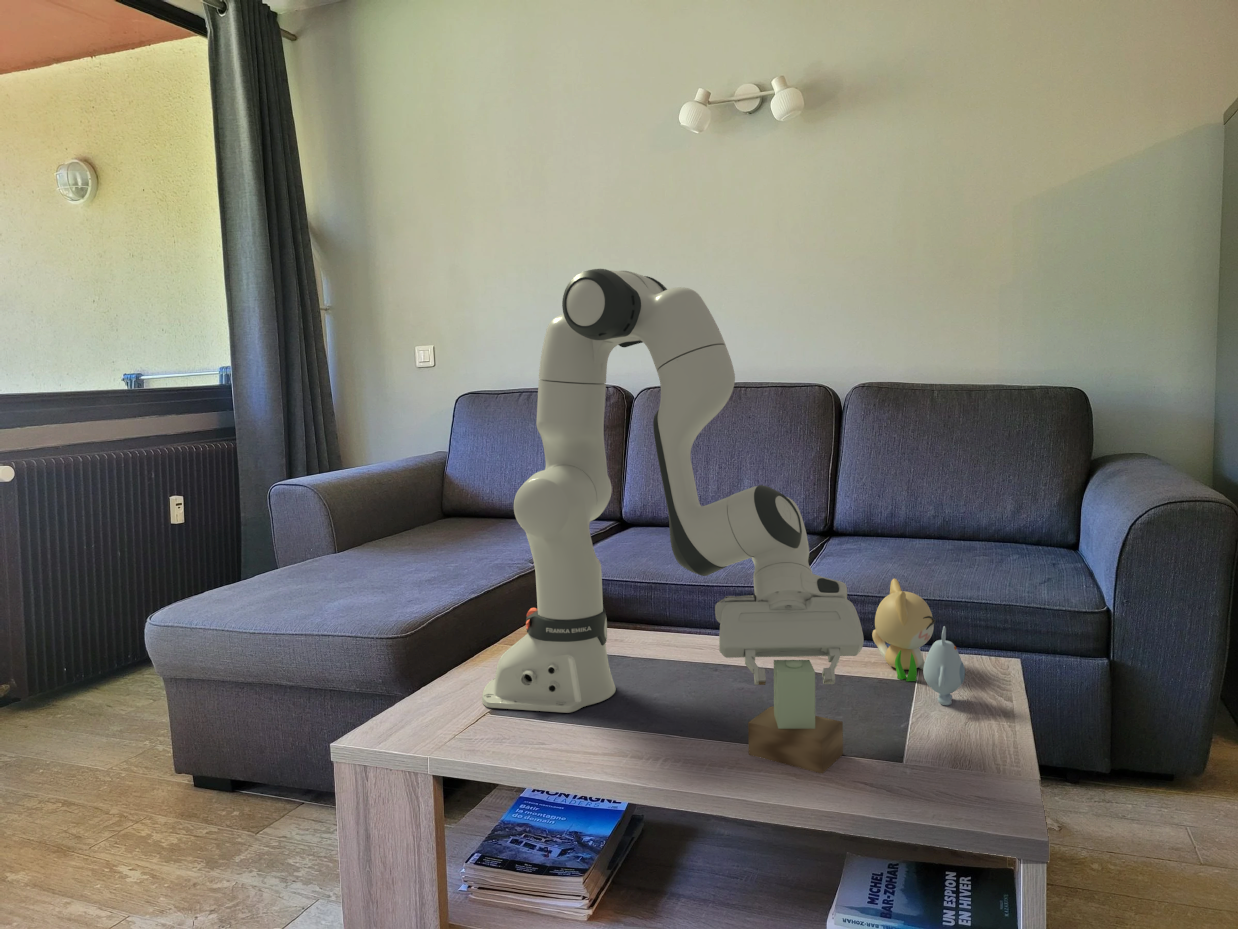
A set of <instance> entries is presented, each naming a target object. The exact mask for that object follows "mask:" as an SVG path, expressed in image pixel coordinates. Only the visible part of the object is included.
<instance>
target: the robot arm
mask: <svg viewBox="0 0 1238 929" xmlns="http://www.w3.org/2000/svg"><path fill="white" fill-rule="evenodd" d="M561 308H562V314H559V315H557V316H555V317H553V318H552V319H551V320H550V322H549V323H548V325H547V328H546V332H545V334H544V335H545V336H544V339H543V343H542V344H543V345H542V350H541V354H540V355H541V356H540V359H539V360H540V361H539V370H538V371H539V372H538V373H539V374H538V384H537V385H538V387H537V389H538V390H537V404H536V406H537V407H536V422H535V423H536V429H537V431H538V434H539V435H540V438H541V441H542V446H543V451H544V452H543V453H544V458H545V468H544V469H542V470H539V471H537V472H535V473H533V474H532V475H531V476H529V478H528V479H527V480H525V481H524V482H523V484H522V485H521V486H520V487H519V488H518V490H517V491H516V493H515V496H514V500H513V512H514V513H513V514H514V517H515V519H516V521H517V523H518V525H519V526H520V528H521V529H522V530H523V531H524V532H525V535H526V539H527V541H528V542H527V543H528V545H529V548H530V553H531V556H532V560H533V564H534V565H533V566H534V570H535V573H534V574H535V585H536V586H535V587H536V602H537V603H536V605H537V608H536V607H531V608H530V609H529V610H528V611H527V613H526V618H525V628H526V634H525V635H524V636H523V637H521V638H520V639H518V641H517V642H516V643H514V644H513V645H512V646H510V647H509V648H508V649H507V650H506V651H505V652H504V653H503V654H502V655H501V657H500V658H499V660H498V662H497V665H496V670H495V676H494V677H493V678H492V679H491V680H490V681H489V682H487V684H486V685H485V686H484V687H483V688H484V689H483V691H482V696H481V697H482V698H481V701H482V703H483V705H484V706H485V707H487V708H490V709H491V708H492V709H504V710H505V709H506V710H507V709H508V710H521V711H536V712H539V711H540V712H550V713H567V714H568V713H573V712H577V711H578V710H581V708H583V707H584V708H585V707H586V706H587V707H588V706H591V705H595V704H597V703H601V702H603V701H605V700H607V699H609V698H611V697H612V696H613V695H614V694H615V693H616V690H617V689H616V685H615V682H614V678H613V676H612V672H611V669H610V663H609V659H608V658H609V657H608V652H607V644H606V643H607V639H608V620H607V615H606V614H607V612H606V609H605V608H604V604H603V603H604V602H603V600H604V599H603V598H604V597H603V578H602V575H603V574H602V564H601V561H600V560H599V558H598V557H597V554H596V552H595V548H594V544H593V540H592V536H591V531H590V530H591V529H590V523H591V522H593V521H594V520H596V519H597V518H599V517H600V516H601V514H602V513H604V512H605V510H606V508H607V506H608V504H609V503H610V501H611V498H612V497H611V496H612V491H613V488H612V483H611V479H610V476H609V475H608V466H607V465H608V464H607V457H606V446H605V436H604V435H605V434H604V430H605V429H604V424H605V409H606V408H605V405H606V391H607V390H606V388H607V384H606V383H607V373H608V372H607V370H608V368H607V367H608V360H609V356H610V354H611V352H612V351H613V349H615V348H616V347H617V346H619V347H621V348H628V347H631V346H635V345H638V344H642V343H643V344H644V345H645V346H646V348H647V349H648V351H649V354H650V356H651V358H652V361H653V364H654V367H655V370H656V372H657V376H658V378H659V379H658V380H659V384H660V403H659V407H658V409H657V411H656V412H655V414H654V416H653V419H652V420H653V435H654V443H655V448H656V449H655V450H656V455H657V460H658V466H659V469H660V471H659V472H660V476H661V481H662V482H661V483H662V486H663V487H662V488H663V492H664V496H665V502H666V508H667V513H668V522H669V525H668V526H669V527H668V528H669V538H670V539H669V540H670V546H671V550H672V553H673V556H674V559H675V560H676V562H677V563H678V564H679V565H680V566H681V567H682V568H684V569H685V570H688V571H689V572H691V573H694V574H696V575H698V576H702V577H706V576H707V577H708V576H710V575H712V574H715V573H716V572H718V571H721V570H723V569H725V568H727V566H731V565H735V564H736V563H740V562H744V561H745V560H748V559H751V560H752V562H753V565H754V571H753V577H752V578H753V590H754V595H741V596H739V595H738V596H734V595H727V596H724V598H722V599H720V600H718V601H717V603H716V604H715V606H714V614H715V619H716V621H717V623H719V624H720V625H719V634H718V635H719V638H718V643H719V644H718V645H719V646H718V647H719V649H718V650H719V653H720V654H721V655H722V657H724V658H729V659H731V658H732V659H733V658H737V659H738V658H744V665H745V666H746V667H747V668H748V670H749V671H750V672H751V674H752V675H753V679H754V682H753V683H754V686H765V685H766V684H767V677H766V668H759V666H758V664H757V663H756V658H793V657H794V658H796V657H797V658H798V657H799V658H801V657H802V658H803V657H805V658H806V657H809V658H810V657H811V658H812V657H827V661H828V663H830V665H829V667H823V669H822V671H821V675H822V684H823V685H835V683H836V673H835V670H836V668H837V666H838V664H839V662H840V658H841V657H856V656H858V655H859V653H860V652H861V651H862V649H863V646H864V642H865V640H864V639H865V638H864V633H863V628H862V624H861V621H860V618H859V614H858V611H857V610H856V606H854V604H853V602H852V601H850V600H849V599H848V598H847V597H848V588H847V585H846V584H847V583H845V582H843V581H840V580H836V579H832V578H828V577H824V576H821V575H819V574H818V575H817V574H814V573H813V570H812V568H811V567H810V565H809V559H810V558H809V557H810V546H809V541H808V540H809V539H808V534H807V531H806V526H805V523H804V519H803V516H802V513H801V510H800V508H799V506H798V505H797V503H796V502H795V500H793V499H791V498H790V497H788V496H786V495H785V494H783V493H781V492H780V491H778V490H776V489H774V488H772V487H770V486H767V485H763V484H760V485H756V486H752V487H749V488H746V489H744V490H741V491H738V492H736V493H734V494H731V495H729V496H727V497H724V498H721V499H719V500H716V501H714V502H710V503H709V504H706V505H702V504H701V503H700V500H699V496H698V491H697V485H696V479H695V474H694V470H693V464H692V458H691V452H692V447H693V444H694V442H695V440H696V438H697V436H698V435H699V434H700V433H701V432H702V430H703V429H704V428H705V427H707V425H708V424H709V423H710V422H711V421H712V420H713V419H714V418H715V417H716V416H717V415H718V414H719V413H720V412H721V411H722V410H723V408H724V407H725V406H726V404H727V403H728V402H729V399H730V398H731V395H732V394H733V391H734V388H735V387H734V386H735V383H736V376H735V375H736V374H735V370H734V369H735V368H734V366H733V362H732V359H731V355H730V353H729V351H728V347H727V345H726V343H725V340H724V338H723V335H722V333H721V331H720V329H719V327H718V325H717V323H716V320H715V318H714V317H713V315H712V313H711V312H710V309H709V308H708V306H707V304H706V303H705V301H704V299H703V298H702V297H701V296H700V294H699V293H698V292H697V291H695V290H693V289H691V288H689V287H682V286H681V287H671V288H667V287H666V286H665V285H664V284H662V282H660V281H659V280H657V279H655V278H654V277H652V276H648V275H647V276H646V275H642V274H639V273H637V272H632V271H628V270H609V269H606V268H593V269H588V270H584V271H582V272H580V273H578V274H576V275H575V276H574V277H573V278H572V279H571V280H570V281H569V282H568V283H567V285H566V287H565V289H564V292H563V296H562V306H561Z"/></svg>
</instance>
